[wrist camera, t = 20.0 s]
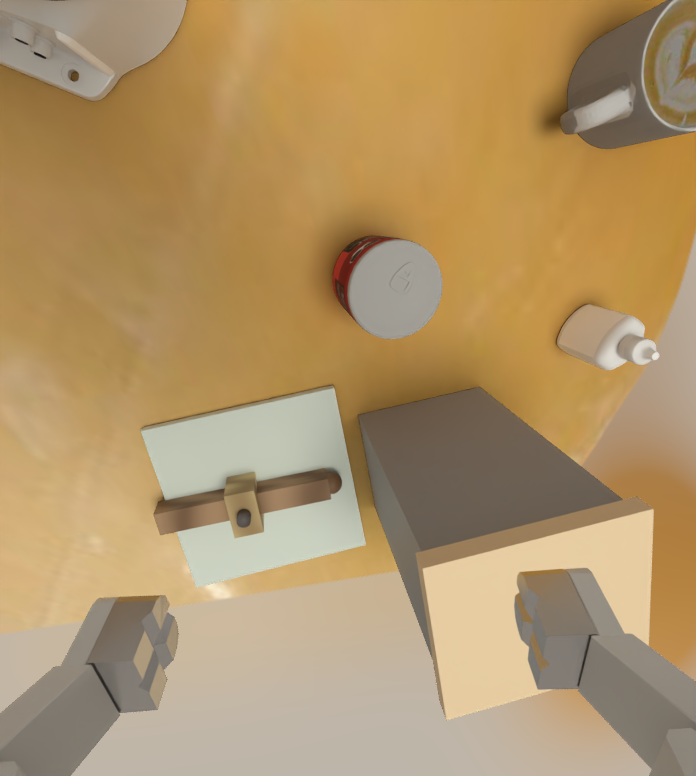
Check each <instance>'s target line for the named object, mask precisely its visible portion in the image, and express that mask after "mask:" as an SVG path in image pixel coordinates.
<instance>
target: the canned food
mask: <svg viewBox="0 0 696 776" xmlns="http://www.w3.org/2000/svg"><path fill="white" fill-rule="evenodd" d="M333 287H334V291H335V294H336V297H337V298H338V300H339V302H340V303H341V305H342V306H343V307H344V308H345V309H346V311H347V312H348V313H349V314H350V315H351V316H352V318H353V319H354V320H355V321H356V322H357V323H358V324H359V325H360V326H361V327H362V328H363V329H364V330H366V331H367V332H369V333H370V334H372V335H375V336H377V337H380V338H385V339H398V338H403V337H406V336H409V335H411V334H413V333H415V332H417V331H418V330H420V329H421V328H422V327H423V326H424V325H425V324H426V323H428V322H429V320H430V319H431V318H432V316H433V315H434V313H435V311H436V309H437V307H438V305H439V302H440V299H441V295H442V276H441V272H440V268H439V266H438V264H437V262H436V260H435V259H434V257H433V256H432V255H431V254H430V252H429V251H427V250H426V249H425V248H423V247H422V246H421V245H419V244H417V243H415V242H413V241H408V240H404V239H399V238H391V237H383V236H367V237H363V238H360V239H358V240H356V241H354V242H353V243H351V244H350V245H348V246H347V247H346V248H345V249H344V251H343V252H342V253H341V255H340V256H339V258H338V260H337V262H336V264H335V268H334V272H333Z"/></svg>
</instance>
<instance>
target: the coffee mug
mask: <svg viewBox="0 0 696 776" xmlns="http://www.w3.org/2000/svg"><path fill="white" fill-rule="evenodd" d="M567 105H568V111H567V112H565V113H564V114H563V115H562V116H561V118H560V126H561V129H562V131H563V132H564V133H565V134H568V135H569V134H575V133H578V134H579V135H580V137H581V138H582V139H584V140H585V141H586V142H587V143H589V144H591V145H593V146H595V147H598V148H604V149H613V148H618V147H623V146H628V145H633V144H638V143H643V142H647V141H652V140H657V139H662V138H667V137H672V136H677V135H681V134H686V133H691V132H695V131H696V0H667V1H665V2H663V3H662V4H660V5H658V6H656V7H654V8H652V9H651V10H649V11H647V12H645V13H643V14H641V15H640V16H638V17H636V18H634V19H632V20H630V21H629V22H627V23H625V24H623V25H621V26H620V27H618V28H616V29H614V30H612V31H610V32H609V33H607V34H605V35H603V36H601V37H600V38H598V39H597V40H595V41H594V42H593V43H591V44H590V45H589V46H588V47H587V49H586V50H585V51H584V52H583V53H582V54H581V56H580V57H579V59H578V61H577V63H576V64H575V66H574V69H573V71H572V74H571V77H570V80H569V85H568V91H567Z"/></svg>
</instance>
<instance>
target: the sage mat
mask: <svg viewBox="0 0 696 776" xmlns="http://www.w3.org/2000/svg"><path fill="white" fill-rule="evenodd" d="M141 434H142V436H143V439H144V442H145V445H146V448H147V450H148V453H149V456H150V459H151V462H152V464H153V467H154V470H155V473H156V476H157V478H158V481H159V484H160V487H161V490H162V492H163V495H164V498H165V500H170V499H174V498H179V497H184V496H189V495H194V494H199V493H204V492H209V491H214V490H219V489H224V488H225V485H226V479H227V477H230V476H235V475H240V474H245V473H250V472H255V475H256V479H257V482H258V481H263V480H268V479H273V478H278V477H283V476H288V475H293V474H297V473H302V472H307V471H312V470H317V469H322V468H325V469H326V473H327V472H335V473H337V474H338V475H339V476H340V477H341V479H342V486H341V489H340V490H339V491H338V492H337V493H335V494H331V500H326V501H321V502H316V503H312V504H307V505H302V506H297V507H293V508H288V509H283V510H278V511H273V512H269V513H264V532H263V533H258V534H253V535H249V536H244V537H239V538H234V534H233V530H232V526H231V523H230V521H226V522H221V523H216V524H212V525H207V526H202V527H197V528H192V529H188V530H183V531H178V532H177V535H178V537H179V540H180V543H181V546H182V549H183V551H184V554H185V557H186V560H187V563H188V565H189V568H190V571H191V574H192V577H193V579H194V582H195V585H196V588H197V587H201V586H205V585H209V584H213V583H217V582H221V581H225V580H229V579H233V578H237V577H241V576H245V575H249V574H253V573H256V572H260V571H264V570H268V569H272V568H276V567H280V566H284V565H288V564H292V563H296V562H300V561H304V560H308V559H312V558H316V557H320V556H324V555H328V554H332V553H336V552H340V551H344V550H348V549H352V548H356V547H359V546H363V545H366V542H365V537H364V532H363V527H362V523H361V518H360V513H359V508H358V503H357V498H356V493H355V488H354V483H353V478H352V473H351V468H350V463H349V458H348V453H347V448H346V443H345V439H344V434H343V429H342V424H341V419H340V414H339V409H338V404H337V399H336V394H335V389H334V386H333V385H331V386H326V387H322V388H317V389H313V390H308V391H304V392H299V393H295V394H290V395H286V396H281V397H277V398H272V399H268V400H264V401H259V402H255V403H250V404H246V405H241V406H237V407H232V408H228V409H223V410H219V411H214V412H210V413H205V414H201V415H196V416H192V417H187V418H183V419H178V420H174V421H169V422H165V423H160V424H156V425H152V426H147V427H143V428H142V430H141Z"/></svg>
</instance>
